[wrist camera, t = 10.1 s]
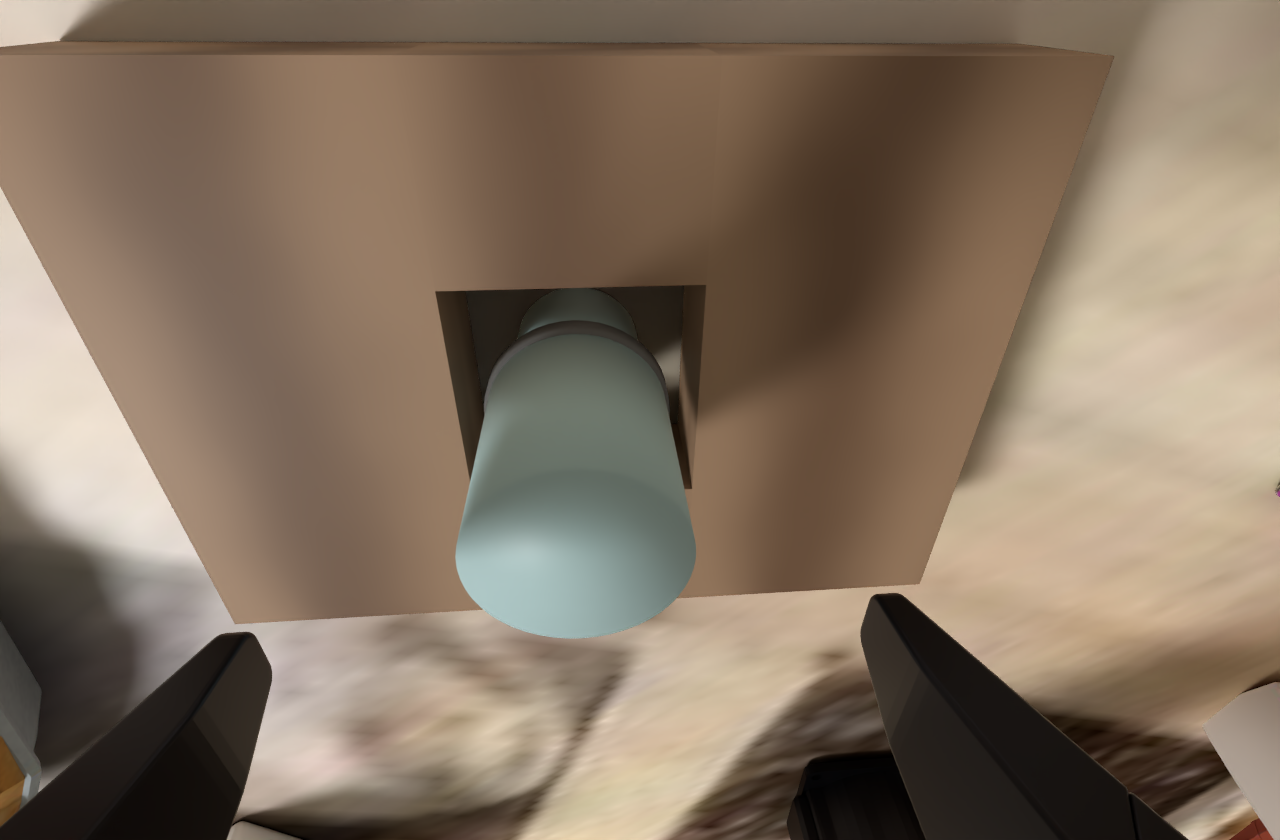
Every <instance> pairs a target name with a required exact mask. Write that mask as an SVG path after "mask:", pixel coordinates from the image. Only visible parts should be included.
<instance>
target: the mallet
mask: <svg viewBox="0 0 1280 840" xmlns="http://www.w3.org/2000/svg"><path fill="white" fill-rule="evenodd" d="M1203 729H1204V731H1205V732H1206V734H1207V736H1208V738H1209V739H1210V741H1211V743H1212V745H1213V746H1214V748H1215V749H1216V751H1217V753H1218V754H1219V756H1220V758H1221V759H1222V761H1223V762H1224V764H1225V766H1226V767H1227V769H1228V771H1229V772H1230V774H1231V775H1232V777H1233V779H1234V780H1235V782H1236V783H1237V785H1238V786H1239V788H1240V789H1241V791H1242V792H1243V794H1244V795H1245V797H1246V798H1247V800H1248V802H1249V803H1250V805H1251V806H1252V808H1253V809H1254V811H1255V812H1256V814H1257V815H1258V817H1259V819H1256V820H1254V821H1252V822H1251V824H1250V825H1248V826H1247V827H1246V828H1244V829H1243V830H1242V831H1240V832H1239V833H1238V834H1236V835H1235V836H1234V837H1232V838H1231V839H1230V840H1280V683H1279V682H1274V683H1271V684H1268V685H1265V686H1262V687H1259V688H1256V689H1253V690H1250V691H1247V692H1245V693H1242V694H1239V695H1238V696H1237V697H1236V698H1234V699H1233V700H1232V701H1231V702H1229V703H1228V704H1227V705H1226V706H1225V707H1223V708H1222V709H1221V710H1220V711H1218V712H1217V713H1216V714H1215V715H1213V716H1212V717H1211V718H1210V719H1208V720H1207V721H1206V722H1205V723H1203Z"/></svg>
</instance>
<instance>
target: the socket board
mask: <svg viewBox="0 0 1280 840" xmlns="http://www.w3.org/2000/svg"><path fill="white" fill-rule="evenodd" d="M1113 59H1114V56H1109V55H1101V54H1094V53H1086V52H1078V51H1071V50H1063V49H1055V48H1048V47H1040V46H1032V45H1025V44H865V43H487V42H109V41H55V42H45V43H36V44H26V45H17V46H7V47H0V187H1V189H2V191H3V192H4V194H5V196H6V198H7V200H8V202H9V204H10V205H11V207H12V209H13V211H14V213H15V215H16V217H17V219H18V220H19V222H20V224H21V226H22V228H23V230H24V232H25V233H26V235H27V237H28V239H29V241H30V243H31V245H32V246H33V248H34V250H35V252H36V254H37V256H38V258H39V260H40V261H41V263H42V265H43V267H44V269H45V271H46V273H47V274H48V276H49V278H50V280H51V282H52V284H53V286H54V287H55V289H56V291H57V293H58V295H59V297H60V299H61V301H62V302H63V304H64V306H65V308H66V310H67V312H68V314H69V315H70V317H71V319H72V321H73V323H74V325H75V327H76V328H77V330H78V332H79V334H80V336H81V338H82V340H83V342H84V343H85V345H86V347H87V349H88V351H89V353H90V355H91V356H92V358H93V360H94V362H95V364H96V366H97V368H98V369H99V371H100V373H101V375H102V377H103V379H104V381H105V383H106V384H107V386H108V388H109V390H110V392H111V394H112V396H113V397H114V399H115V401H116V403H117V405H118V407H119V409H120V410H121V412H122V414H123V416H124V418H125V420H126V422H127V424H128V425H129V427H130V429H131V431H132V433H133V435H134V437H135V438H136V440H137V442H138V444H139V446H140V448H141V450H142V451H143V453H144V455H145V457H146V459H147V461H148V463H149V465H150V466H151V468H152V470H153V472H154V474H155V476H156V478H157V479H158V481H159V483H160V485H161V487H162V489H163V491H164V492H165V494H166V496H167V498H168V500H169V502H170V504H171V506H172V507H173V509H174V511H175V513H176V515H177V517H178V519H179V520H180V522H181V524H182V526H183V528H184V530H185V532H186V533H187V535H188V537H189V539H190V541H191V543H192V545H193V547H194V548H195V550H196V552H197V554H198V556H199V558H200V560H201V561H202V563H203V565H204V567H205V569H206V571H207V573H208V574H209V576H210V578H211V580H212V582H213V584H214V586H215V588H216V589H217V591H218V593H219V595H220V597H221V599H222V601H223V602H224V604H225V606H226V608H227V610H228V612H229V614H230V615H231V617H232V619H233V621H234V623H235V624H245V623H262V622H279V621H296V620H313V619H330V618H347V617H365V616H382V615H399V614H416V613H433V612H450V611H467V610H483V609H482V608H481V607H480V606H479V605H478V604H477V603H476V602H475V601H474V600H473V599H472V598H471V597H470V595H469V594H468V593H467V591H466V590H465V588H464V586H463V584H462V582H461V580H460V577H459V574H458V571H457V567H456V558H455V556H456V545H457V540H458V536H459V531H460V526H461V522H462V517H463V513H464V508H465V503H466V499H467V494H468V490H469V485H470V480H471V476H472V471H473V467H474V462H475V457H476V453H477V448H478V444H479V439H480V434H481V430H482V425H483V421H484V416H485V415H484V408H483V401H482V395H481V388H480V382H479V375H478V369H477V362H476V356H475V350H474V343H473V337H472V330H471V324H470V317H469V311H468V304H467V298H466V292H465V291H470V290H511V289H553V288H595V287H636V286H678V285H684V300H683V321H682V341H681V362H680V382H679V403H678V423H677V424H671V428H672V433H673V438H674V442H675V447H676V452H677V457H678V461H679V466H680V471H681V476H682V480H683V485H684V490H685V495H686V499H687V504H688V509H689V514H690V518H691V523H692V528H693V533H694V538H695V543H696V560H695V565H694V569H693V572H692V575H691V577H690V579H689V581H688V583H687V585H686V586H685V588H684V589H683V591H682V592H681V593H680V595H679V596H678V597H677V598H689V597H706V596H723V595H741V594H758V593H775V592H792V591H809V590H826V589H843V588H860V587H877V586H894V585H911V584H920V581H921V578H922V576H923V573H924V570H925V568H926V565H927V562H928V560H929V557H930V554H931V551H932V549H933V546H934V543H935V541H936V538H937V535H938V532H939V530H940V527H941V524H942V522H943V519H944V516H945V514H946V511H947V508H948V505H949V503H950V500H951V497H952V495H953V492H954V489H955V486H956V484H957V481H958V478H959V476H960V473H961V470H962V467H963V465H964V462H965V459H966V457H967V454H968V451H969V449H970V446H971V443H972V440H973V438H974V435H975V432H976V430H977V427H978V424H979V421H980V419H981V416H982V413H983V411H984V408H985V405H986V402H987V400H988V397H989V394H990V392H991V389H992V386H993V384H994V381H995V378H996V375H997V373H998V370H999V367H1000V365H1001V362H1002V359H1003V356H1004V354H1005V351H1006V348H1007V346H1008V343H1009V340H1010V338H1011V335H1012V332H1013V329H1014V327H1015V324H1016V321H1017V319H1018V316H1019V313H1020V310H1021V308H1022V305H1023V302H1024V300H1025V297H1026V294H1027V291H1028V289H1029V286H1030V283H1031V281H1032V278H1033V275H1034V273H1035V270H1036V267H1037V264H1038V262H1039V259H1040V256H1041V254H1042V251H1043V248H1044V245H1045V243H1046V240H1047V237H1048V235H1049V232H1050V229H1051V226H1052V224H1053V221H1054V218H1055V216H1056V213H1057V210H1058V208H1059V205H1060V202H1061V199H1062V197H1063V194H1064V191H1065V189H1066V186H1067V183H1068V180H1069V178H1070V175H1071V172H1072V170H1073V167H1074V164H1075V161H1076V159H1077V156H1078V153H1079V151H1080V148H1081V145H1082V143H1083V140H1084V137H1085V134H1086V132H1087V129H1088V126H1089V124H1090V121H1091V118H1092V115H1093V113H1094V110H1095V107H1096V105H1097V102H1098V99H1099V97H1100V94H1101V91H1102V88H1103V86H1104V83H1105V80H1106V78H1107V75H1108V72H1109V69H1110V67H1111V64H1112V61H1113Z"/></svg>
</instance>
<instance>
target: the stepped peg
mask: <svg viewBox="0 0 1280 840" xmlns="http://www.w3.org/2000/svg"><path fill="white" fill-rule="evenodd" d="M669 411H670V408H669V397H668V392H667V387H666V383H665V379H664V376H663V373H662V370H661V368H660V366H659V364H658V363H657V361H656V359H655V358H654V357H653V355H652V354H651V353H650V351H649V350H648V349H647V348H646V347H645V346H644V345H643V344H642V343H640V342H639V341H638V340H637V334H636V329H635V326H634V323H633V320H632V319H631V317H630V315H629V313H628V312H627V311H626V309H625V308H624V307H623V306H622V305H621V304H620V303H619V302H618V301H617V300H615V299H614V298H613V297H611V296H609V295H608V294H606V293H603V292H601V291H598V290H595V289H592V288H562V289H558V290H555V291H553V292H550V293H548V294H546V295H544V296H543V297H541V298H540V299H538V300H537V301H536V302H535V303H534V304H533V305H532V306H531V307H530V308H529V309H528V311H527V312H526V314H525V316H524V317H523V320H522V322H521V325H520V328H519V333H518V339H516V340H515V341H514V342H513V343H512V344H511V345H510V346H508V347H507V348H506V350H505V351H504V352H503V353H502V354H501V355H500V357H499V358H498V360H497V362H496V363H495V365H494V367H493V369H492V372H491V374H490V377H489V381H488V385H487V389H486V394H485V400H484V415H485V416H484V421H483V425H482V430H481V434H480V439H479V444H478V448H477V453H476V457H475V462H474V467H473V471H472V476H471V480H470V485H469V490H468V494H467V499H466V503H465V508H464V513H463V517H462V522H461V526H460V531H459V536H458V540H457V545H456V556H455V558H456V567H457V571H458V574H459V577H460V580H461V582H462V584H463V586H464V588H465V590H466V591H467V593H468V594H469V595H470V597H471V598H472V599H473V600H474V601H475V602H476V603H477V604H478V605H479V606H480V607H481V608H482V609H483V610H485V611H486V612H487V613H488V614H490V615H491V616H493V617H494V618H496V619H498V620H499V621H501V622H503V623H505V624H507V625H509V626H512V627H514V628H517V629H519V630H522V631H525V632H529V633H533V634H537V635H541V636H548V637H555V638H589V637H598V636H603V635H608V634H613V633H616V632H620V631H624V630H626V629H629V628H632V627H634V626H637V625H639V624H641V623H643V622H645V621H647V620H649V619H651V618H652V617H654V616H655V615H657V614H659V613H660V612H661V611H663V610H664V609H665V608H666V607H668V606H669V605H670V604H671V603H672V602H673V601H674V600H675V599H676V598H677V597H678V596H679V595H680V593H681V592H682V591H683V589H684V588H685V586H686V585H687V583H688V581H689V579H690V577H691V575H692V572H693V569H694V565H695V560H696V543H695V538H694V533H693V528H692V523H691V518H690V514H689V509H688V504H687V499H686V495H685V490H684V485H683V480H682V476H681V471H680V466H679V461H678V457H677V452H676V447H675V442H674V438H673V433H672V428H671V423H670V419H669Z"/></svg>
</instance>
